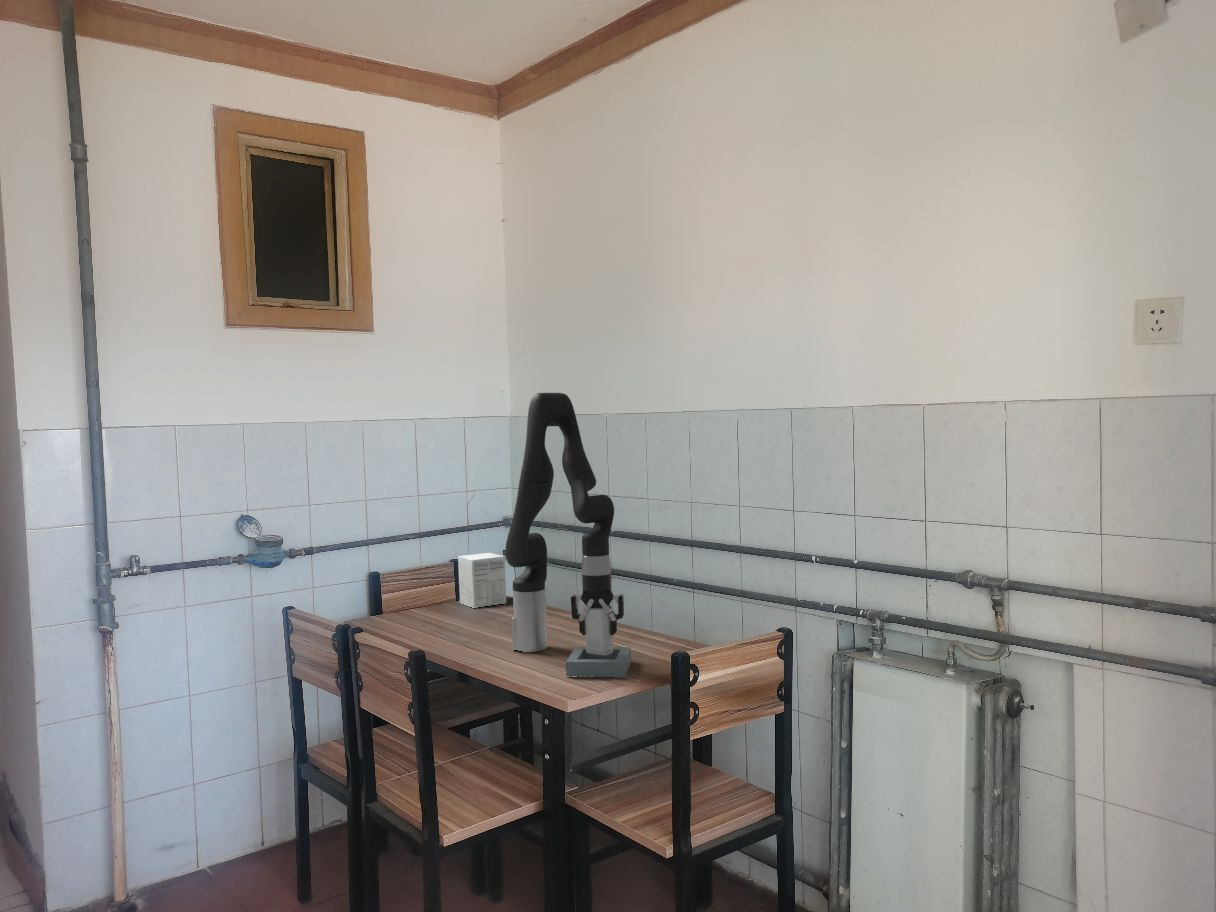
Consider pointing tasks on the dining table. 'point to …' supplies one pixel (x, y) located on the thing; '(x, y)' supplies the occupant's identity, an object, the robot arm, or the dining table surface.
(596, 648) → the skincare box
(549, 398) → the robot arm
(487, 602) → the supplement box
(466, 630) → the dining table surface
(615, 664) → the socket block
